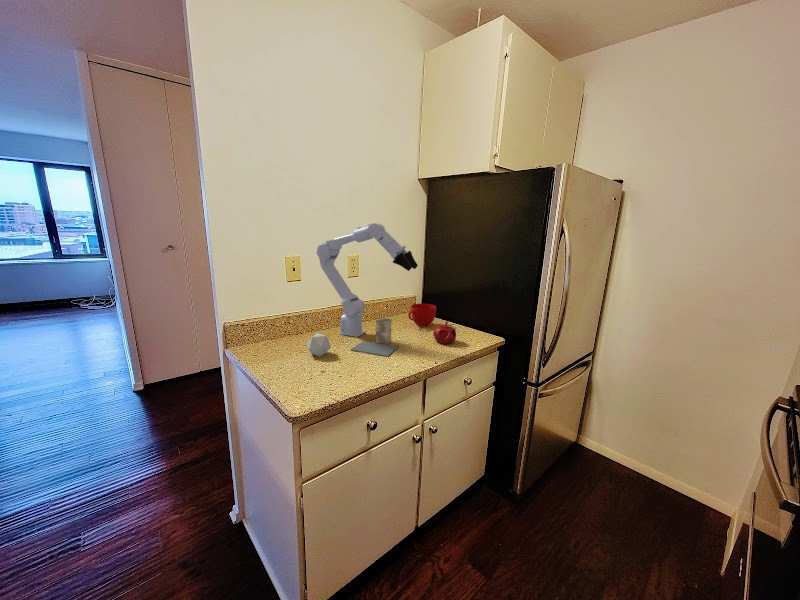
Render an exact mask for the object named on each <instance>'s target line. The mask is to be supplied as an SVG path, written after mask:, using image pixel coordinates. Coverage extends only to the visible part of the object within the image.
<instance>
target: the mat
mask: <svg viewBox="0 0 800 600" xmlns="http://www.w3.org/2000/svg"><path fill="white" fill-rule="evenodd" d="M398 347H399V346H397V345H390V344H387V345H385V344H379V343H376V342H372V341H365V340H363V341H361V342H360V343H358V344H356V345H354V346H353V347H352V348H350V352H358V353H364V354H369V355H373V356H380V357H381V356H382V357H385V358H386V357H387V358H388V357H390V356H391V354H392V353H394V352H395V351H396V350H397V349H398Z"/></svg>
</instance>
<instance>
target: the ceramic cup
mask: <svg viewBox="0 0 800 600" xmlns="http://www.w3.org/2000/svg"><path fill="white" fill-rule="evenodd" d="M436 314H437V306H436V305H434V304H430V303H413V304H411V305H410V311H409V312H408V314H407V316H408V317H407V318H409V320H411V321H413V322H414V323H415V325H416V327H421V328H427V327H429V326H430V325H432V323H433V322H434V320H435V318H436Z"/></svg>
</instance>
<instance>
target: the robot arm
mask: <svg viewBox="0 0 800 600" xmlns="http://www.w3.org/2000/svg"><path fill="white" fill-rule="evenodd" d="M372 239H375V240H376V241H377V243H378V244H379V245H381V247H382V248H383V249H384V250H385V251H386V252H387V253H388V254H389V255H390V257H391V258H392V259H393V260H392V263H393V264H395V265H398V266H399V267H402V268H403V269H405V271H408V272H410V270H412V269H413V270H416V269H417V267H419V265H418V263H417V262H416V260H415V258H414V256H413V253H412V251H411V250H408V251H407V250H406V247H407V246H406V245H403V246H402V245H401V244H400V243H399V242H397V240H396V239H395V238H394V237H393V236H392V235H391V234H390V232H388V231H387V230H386V228H385V226H384V225H383V224H381V223H377V222H375V223H369V224H367V225H365V226H363V227H362V226H358V227H356V229H354V231H353V232H352V233H351V234H347V235H343V236H339V237H334V238H332V239H329V240H325V242H321V243H319V244H318V245H317V248H316V255H317V257H318V259H319V264H320V267H321V269H322V271H323V273H324V274H325V275H326V277H327V279H328V280H329V281H330V284H331V285H332V286H333V287H334V289H335V291H336V293H337V294H338V296H339V297H340V299H341V303H340V304H341V306H342V309H343V313H344V314H342V315H341V317H340V322H339V323H340V328H339V329H340V332H339V335H341V336H350V337H356V338H358V337H360V336H361V335H364V334H365V333H366V331H365V330H363V311H365V306H366V305H365V303H364V301H363V300H362V299H360V298H359V297H358V295H357V294H355V293H353V292H352V291H351V289H350V287H349V286H348V284H347V283H346V282H345V280H344V278H343V276H342V275H341V274H340V273H339V270H338V269H337V268H336V266H335V262H336V259H337V258H338V256H339V255H340V252H341V250H342V248H343V245H347V244H349V243H353V242H357V243H363V242H367V241H369V240H372Z"/></svg>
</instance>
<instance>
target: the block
mask: <svg viewBox="0 0 800 600" xmlns="http://www.w3.org/2000/svg"><path fill="white" fill-rule="evenodd" d="M392 321H393V320H392V319H391V318H385V317H384V318H383V317H380V318H378V319H376V320H375V343H379V344H385V345H390V343H391V342H392Z"/></svg>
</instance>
